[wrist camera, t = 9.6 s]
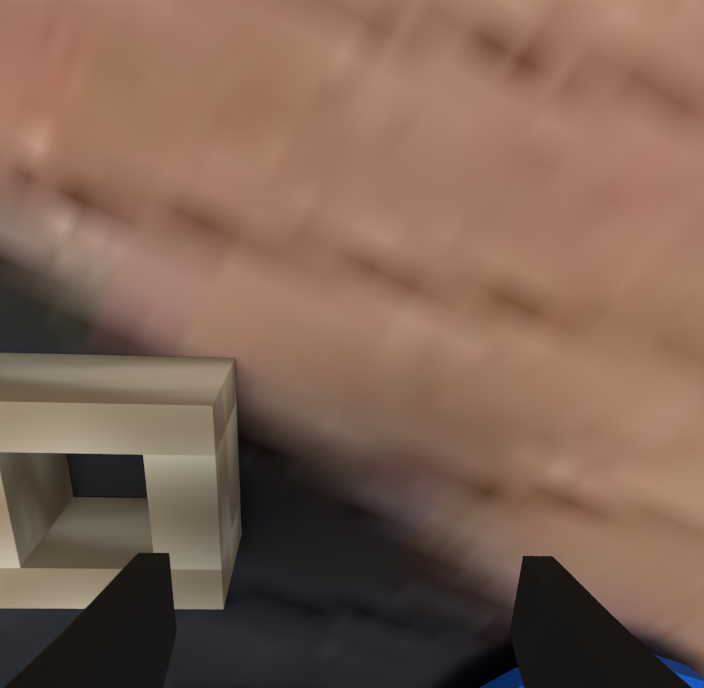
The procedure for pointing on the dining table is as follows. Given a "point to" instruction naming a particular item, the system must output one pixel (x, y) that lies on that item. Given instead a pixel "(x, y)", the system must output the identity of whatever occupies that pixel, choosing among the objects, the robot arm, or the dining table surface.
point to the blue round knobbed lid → (511, 682)
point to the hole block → (117, 438)
